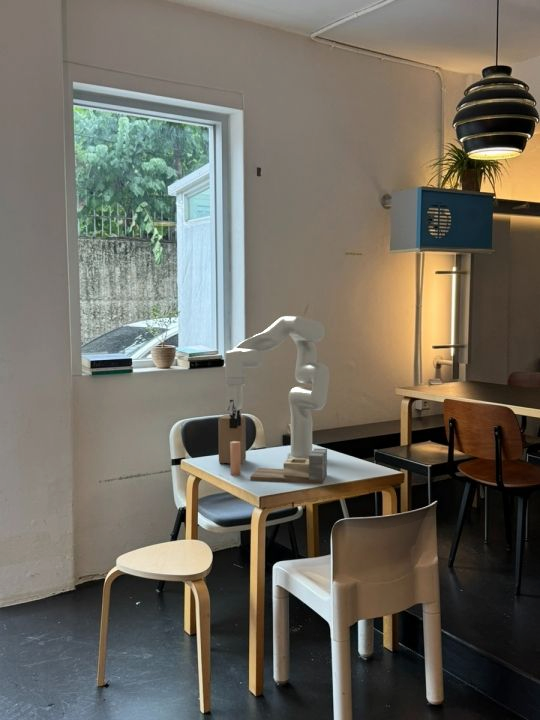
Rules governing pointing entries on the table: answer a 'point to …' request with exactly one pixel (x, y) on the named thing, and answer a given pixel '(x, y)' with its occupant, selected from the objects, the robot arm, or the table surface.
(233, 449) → the dowel
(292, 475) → the sliding block
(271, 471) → the backstop board
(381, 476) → the table surface
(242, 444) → the block
